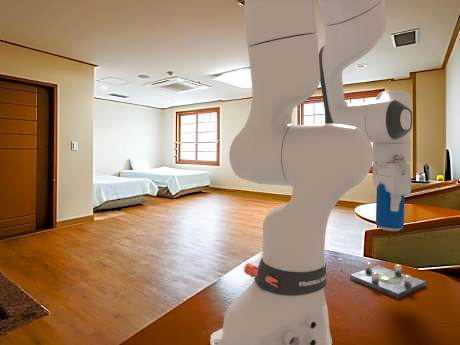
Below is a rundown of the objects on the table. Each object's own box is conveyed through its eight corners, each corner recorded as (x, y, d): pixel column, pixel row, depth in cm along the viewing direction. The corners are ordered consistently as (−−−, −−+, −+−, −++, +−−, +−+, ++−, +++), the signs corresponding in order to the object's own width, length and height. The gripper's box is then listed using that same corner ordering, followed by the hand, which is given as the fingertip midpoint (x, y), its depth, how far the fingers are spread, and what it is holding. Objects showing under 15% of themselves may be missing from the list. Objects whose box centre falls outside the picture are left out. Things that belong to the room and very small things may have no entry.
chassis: (397, 298, 70) (398, 283, 70) (349, 279, 81) (350, 266, 81) (425, 285, 77) (426, 272, 77) (377, 269, 88) (378, 257, 88)
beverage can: (405, 228, 78) (407, 182, 78) (400, 233, 73) (402, 184, 73) (379, 224, 83) (380, 181, 82) (372, 228, 78) (373, 183, 77)
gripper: (420, 155, 66) (418, 216, 67) (392, 155, 86) (391, 202, 87) (389, 155, 68) (387, 215, 68) (369, 155, 87) (367, 201, 88)
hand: (389, 208), depth 78 cm, fingers closed on beverage can, 6 cm apart
